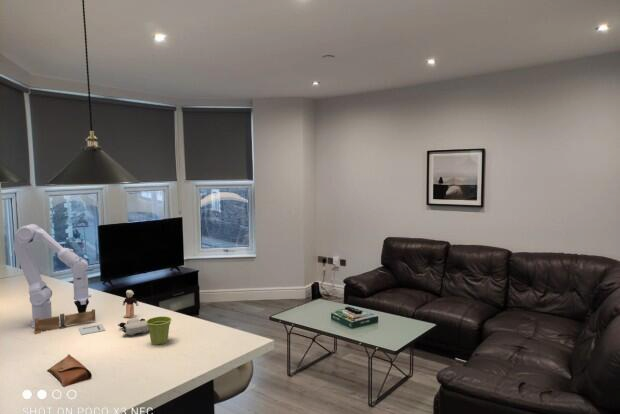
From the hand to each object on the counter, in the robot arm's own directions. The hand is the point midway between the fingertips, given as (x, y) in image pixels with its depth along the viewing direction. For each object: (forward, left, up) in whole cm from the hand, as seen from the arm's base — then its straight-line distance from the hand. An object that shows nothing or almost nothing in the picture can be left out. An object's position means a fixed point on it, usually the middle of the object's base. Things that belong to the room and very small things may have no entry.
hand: (82, 316), depth 193 cm
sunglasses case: (+56, -10, -3) cm, 57 cm away
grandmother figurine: (+7, +19, -2) cm, 20 cm away
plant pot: (+45, +22, -2) cm, 50 cm away
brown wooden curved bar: (+5, -2, -1) cm, 6 cm away
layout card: (+15, +2, -2) cm, 15 cm away
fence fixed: (+5, -12, -2) cm, 13 cm away
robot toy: (+27, +17, -2) cm, 32 cm away
